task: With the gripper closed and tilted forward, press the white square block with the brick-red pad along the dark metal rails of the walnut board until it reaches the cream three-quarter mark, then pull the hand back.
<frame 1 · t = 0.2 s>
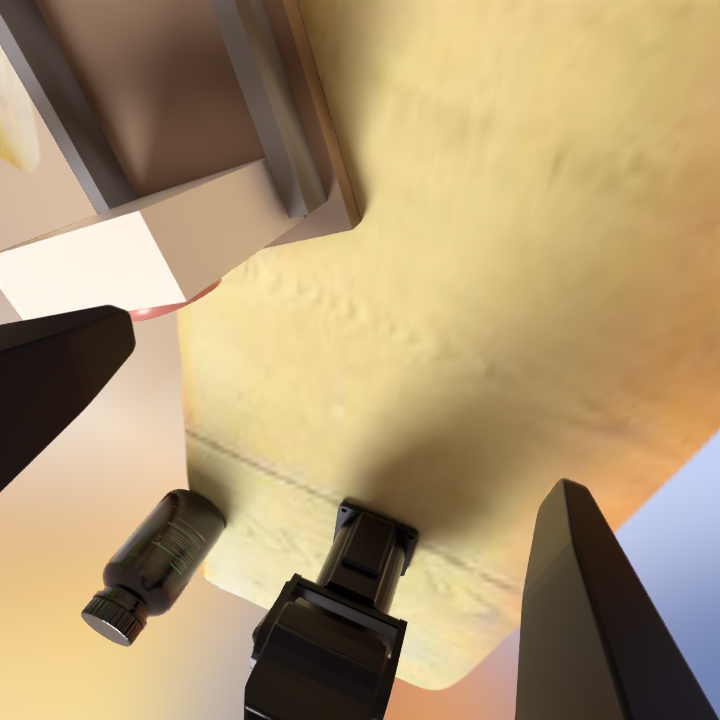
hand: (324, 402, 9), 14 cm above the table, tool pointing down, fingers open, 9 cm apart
press base: (183, 83, 21), on the table
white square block: (164, 247, 19), point 6 cm above the table, slide at 0.0 cm
supplement bottle: (198, 508, 45), on the table
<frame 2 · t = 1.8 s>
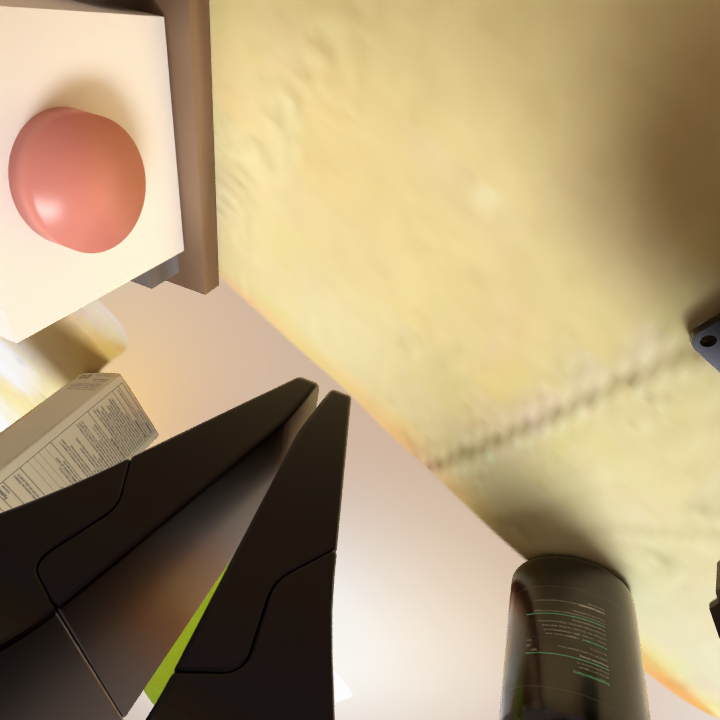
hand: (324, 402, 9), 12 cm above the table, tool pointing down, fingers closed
skincare box: (125, 403, 34), on the table
soap dispenser: (294, 523, 35), on the table
press base: (67, 108, 21), on the table
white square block: (69, 167, 16), point 6 cm above the table, slide at 0.0 cm
supplement bottle: (569, 584, 28), on the table
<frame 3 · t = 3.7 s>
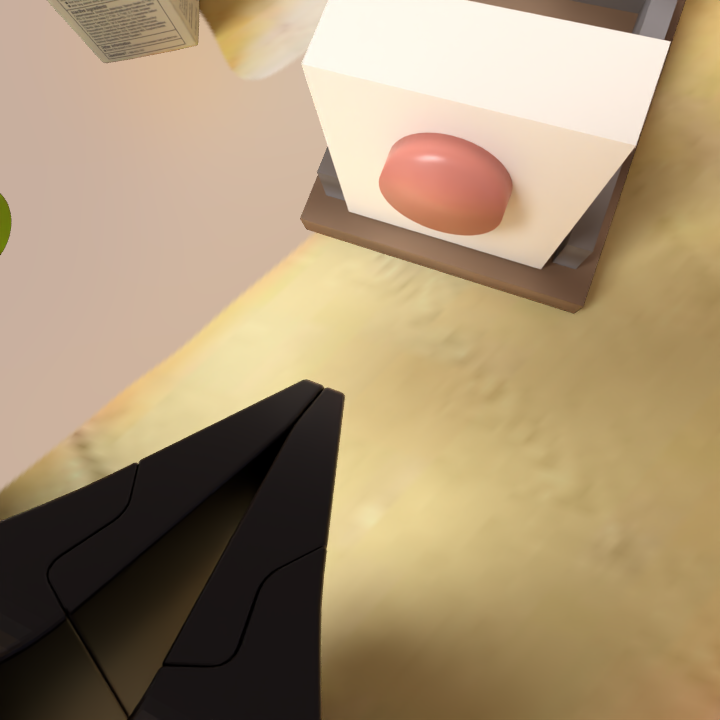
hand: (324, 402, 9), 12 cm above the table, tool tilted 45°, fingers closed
skincare box: (151, 29, 26), on the table
press base: (486, 124, 22), on the table
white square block: (456, 164, 16), point 6 cm above the table, slide at 0.0 cm
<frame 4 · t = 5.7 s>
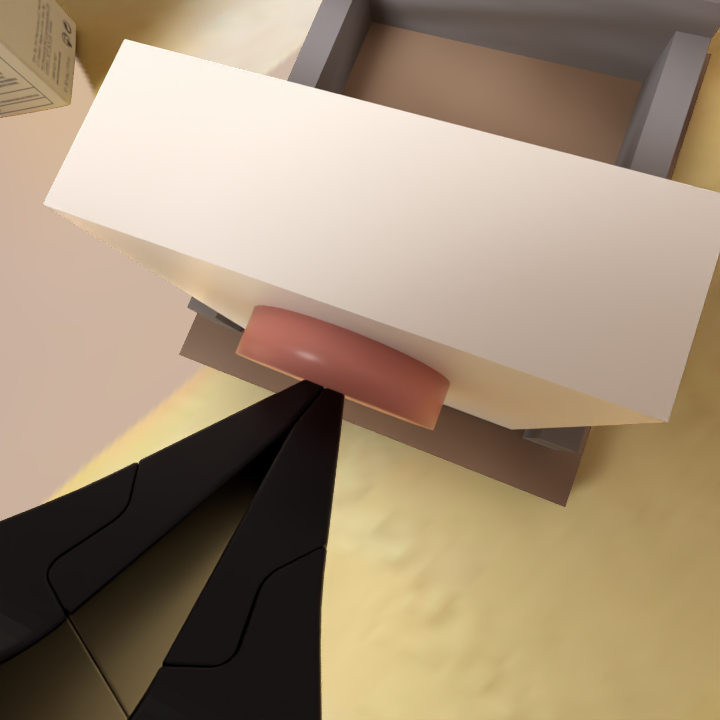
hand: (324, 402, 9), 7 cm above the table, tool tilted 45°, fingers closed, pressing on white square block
skincare box: (17, 80, 20), on the table
press base: (438, 223, 17), on the table
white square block: (371, 315, 10), point 6 cm above the table, slide at 0.6 cm, touching gripper
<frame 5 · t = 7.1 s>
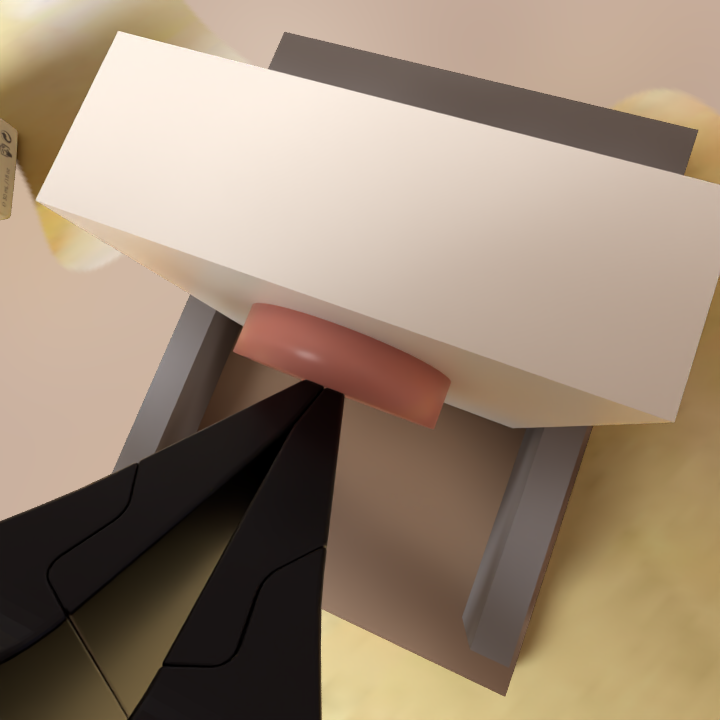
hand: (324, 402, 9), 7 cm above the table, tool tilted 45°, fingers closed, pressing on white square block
press base: (384, 362, 16), on the table
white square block: (371, 313, 10), point 6 cm above the table, slide at 6.3 cm, touching gripper
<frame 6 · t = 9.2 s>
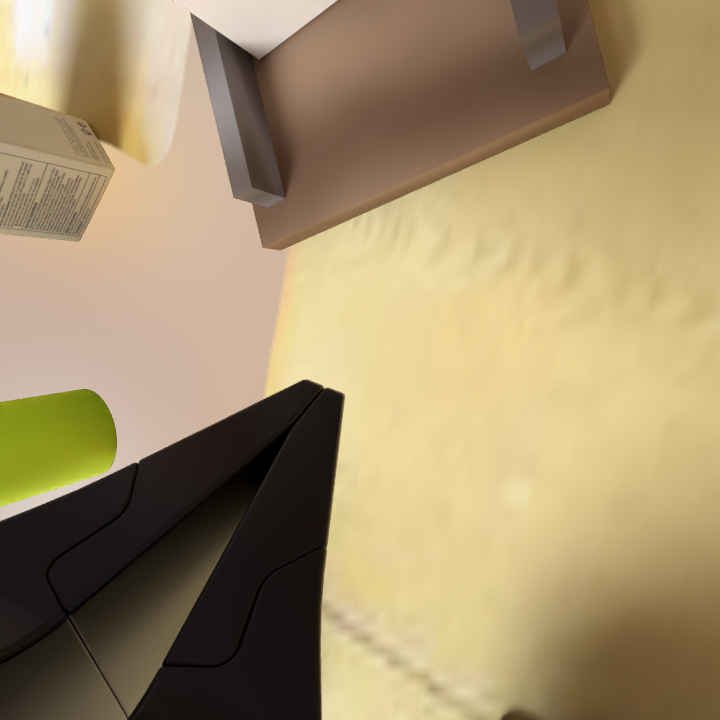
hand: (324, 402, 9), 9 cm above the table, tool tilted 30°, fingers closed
skincare box: (86, 186, 28), on the table
soap dispenser: (89, 430, 31), on the table
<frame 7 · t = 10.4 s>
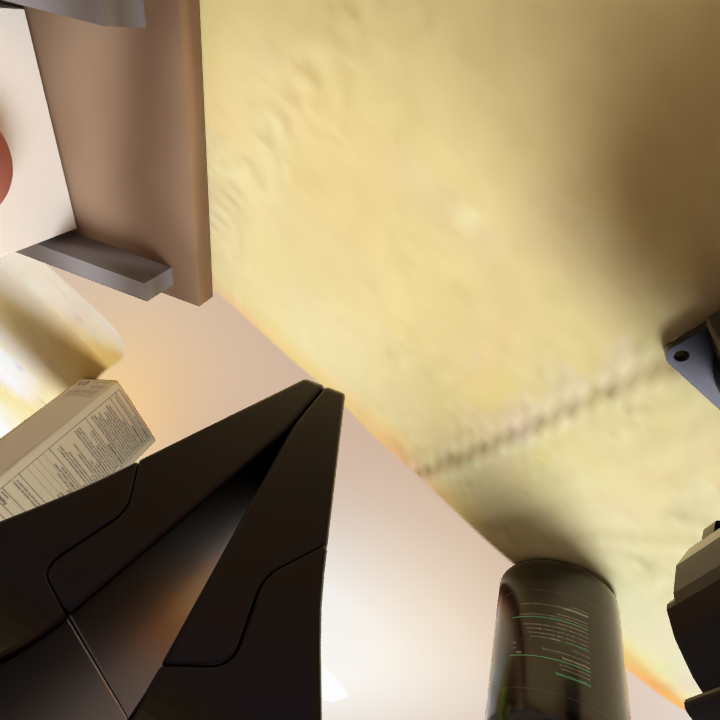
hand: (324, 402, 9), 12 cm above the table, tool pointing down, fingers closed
skincare box: (122, 409, 35), on the table
press base: (65, 125, 22), on the table
supplement bottle: (556, 587, 29), on the table
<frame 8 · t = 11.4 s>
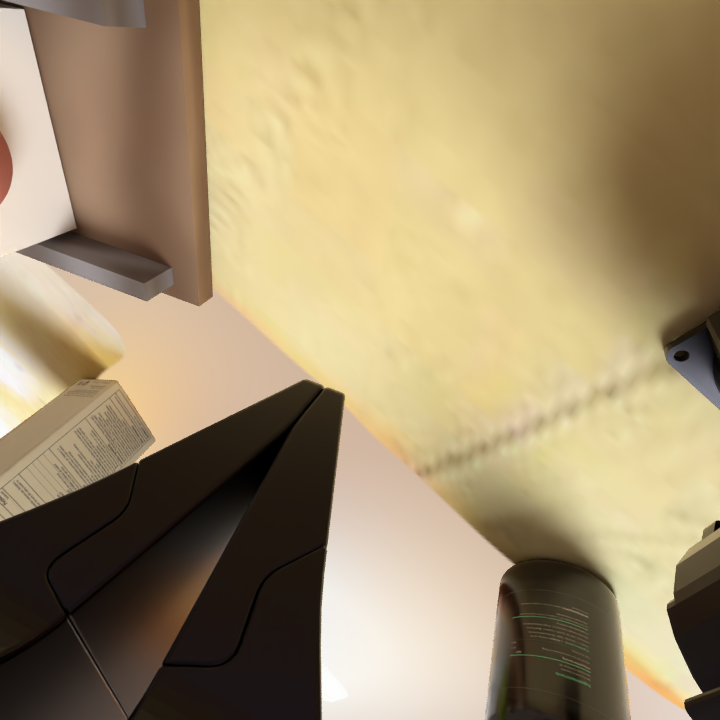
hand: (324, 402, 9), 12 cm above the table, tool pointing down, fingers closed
skincare box: (122, 409, 35), on the table
press base: (65, 125, 22), on the table
supplement bottle: (556, 587, 29), on the table
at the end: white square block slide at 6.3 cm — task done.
